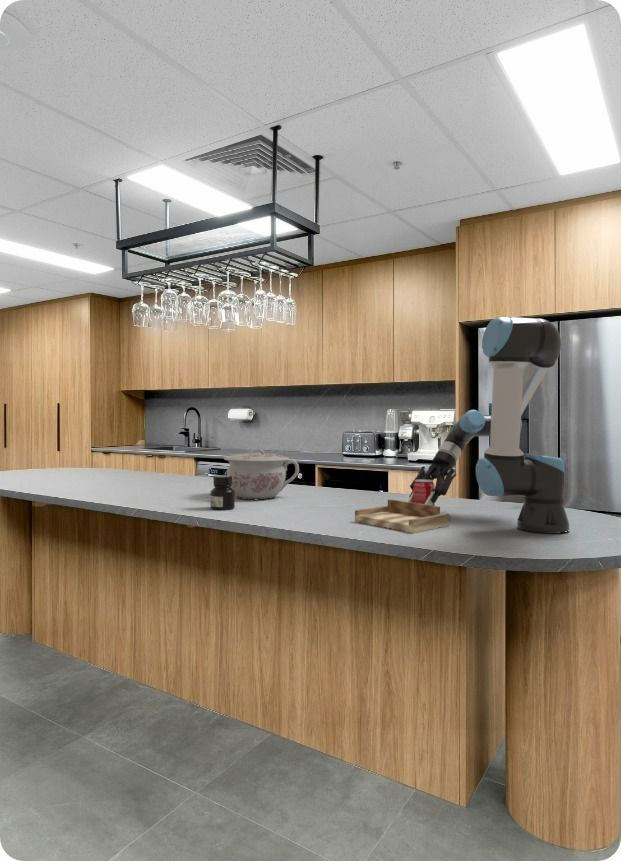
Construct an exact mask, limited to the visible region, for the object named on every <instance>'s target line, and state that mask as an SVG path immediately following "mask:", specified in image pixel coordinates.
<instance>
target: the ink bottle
mask: <svg viewBox="0 0 621 861" xmlns="http://www.w3.org/2000/svg"><path fill="white" fill-rule="evenodd" d="M212 478H213V489H211V490H210V496H209V497H210V498H209V499H210V509H212V510H215V509H216V511H226V510H227V509H229V510H233V508H234V509H235V507H236V504H235V503H236V502H235V499H236V495H235V491H234V490H233V489H232V488H231V486H232V476H228V475H227V474H226V475H223V474H222V475H214V476H213V477H212ZM227 511H228V510H227Z"/></svg>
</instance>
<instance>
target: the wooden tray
mask: <svg viewBox="0 0 621 861" xmlns="http://www.w3.org/2000/svg"><path fill="white" fill-rule="evenodd" d="M449 516H450V514H449V513H445V512H444V513H441V506H437V505H435V506H432V505H425V504H418V503H412V502H407V501H403V500H397V499H392V498H391V499H387V505H382V506H375V507H368V508H361V509H356V510H354V522H355V523H358V522H361V523H360V524H363V523H366V524H365V525H369V524H371V525H370V526H374V525H377V526H376V527H379V526H382V527H381V528H384V527H387V528H386V529H389V528H392V529H391V530H394V529H397V530H396V531H399V530H401V531H400V532H404V531H405V532H406V533H409V532H410V533H411V534H415V533H421V532H425V531H430V529H431V530H435V528H436V529H440V528H439V527H441V528H444V527H445V526H446V527H449V525H450V524H449V523H450V522H449V520H450V518H449Z"/></svg>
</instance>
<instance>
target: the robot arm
mask: <svg viewBox="0 0 621 861" xmlns="http://www.w3.org/2000/svg"><path fill="white" fill-rule="evenodd" d="M482 335H483V336H482V340H481V349H482V353H483V355H484V356H486V357H488V363H489V364H490V366H492V367H491V368H492V369H493V374H492V375H493V376H492V377H493V378H492V396H491V397H492V398H491V399H492V400H491V412H490V413H491V414H483V413H482V412H481V411H478V410H476V409H470V410H467V411H466V412H465V413H464V414H463V415H462V416H461V417H460V418H459V420H457V421H456V422H454V424H453V425H452V426H451V427H450V430H449V432H448V434H447V436H446V437H445V439H444V441H443V442H442V444H441V445H440V447H439V448H438V450H437V451H436V453H435V456H434V457H433V458H432V463H431V465H429V467H425V466H422V467H421V469H420V471H419V472H418V473H417V476H415V478H414V480H413V481H412V482H411V483H410V485H409V487H410V489H411V493H410V494H409V498H408V499H407V501H406V502H412V503H413V488H414V483H415V480H419V479H426V480H433V481H434V480H436V482H435V485H434V486H435V489H434V491H435V493H434V492H432V493H431V495H430V496H429V497H428V499H427V501H426V502H425V505H433V503H435V504H436V502H437V501H438V498H439V497H441V496H446V495H447V493H448V490H449V489H450V486H451V484H452V482H453V480H454V478H455V477H456V476H457V472H455V470H454V467H455V465H456V464H457V461H458V460H459V458H460V456H461V455H462V453H463V451H464V450H465V447H467V445H468V443H469V442H470V441H471V440H473V438H474V437H489V446H488V448H486V449H485V450H484V454H483V455H484V456H483V457H481V458H480V459H478V460H477V463H476V465H475V478H476V481H477V485H478V486H479V489H480V490H481V492H482V493H483V494H485V495H486V496H489V497H498V498H502V497H523V503H522V508H520V513H519V515H518V518H517V521H516V522H517V524H516V525H517V526H516V528H517V529H520V530H521V531H526V532H530V531H531V532H530V533H537V532H543V533H542V534H559V533H558V532H565V531H568V530H569V531H570V523H569V518H568V515H567V512H566V510H565V509H566V508H565V505H564V503H565V502H564V501H565V497H564V496H565V474H566V470H565V461H564V460H563V458H560V457H557V456H556V457H555V456H548V455H541V454H534V453H524V452H523V451H522V449H520V442H521V441H520V440H521V439H520V437H521V431H522V427H523V421H522V415H523V414H524V411H525V409H526V408H527V406H528V404H529V403H530V401H531V399H532V397H534V396H533V395H534V394H535V392H536V390H537V389H538V387H539V385H540V383H541V382H542V380H543V379H544V377H545V375H546V373H547V371H548V370H549V369H552V368H553V367H554V366H555V364H556V362H557V360H558V359H559V356H560V354H561V350H562V339H561V334H560V332H559V330H558V328H557V327H556V326H555V325H554V323H552V322H551V321H549V320H547V319H544V318H536V317H535V318H533V317H532V318H530V317H513V316H503V317H502V316H501V317H496V318H492V319H491V320H490V322H489V323H488V324H487V326H486V328H485V330H484V331H483V334H482Z"/></svg>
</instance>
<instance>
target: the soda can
mask: <svg viewBox="0 0 621 861" xmlns="http://www.w3.org/2000/svg"><path fill="white" fill-rule="evenodd" d="M435 486H436V485H435V483H434V480H426V479H419V480H415V483H414V488H413V503H418V504H425V502H426V501H427V499H428V497H429V496H430V495H431V493H432V492H434V493H435V491H434V489H435ZM435 504H436V502H435V503H433V505H432V506H436V505H435Z"/></svg>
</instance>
